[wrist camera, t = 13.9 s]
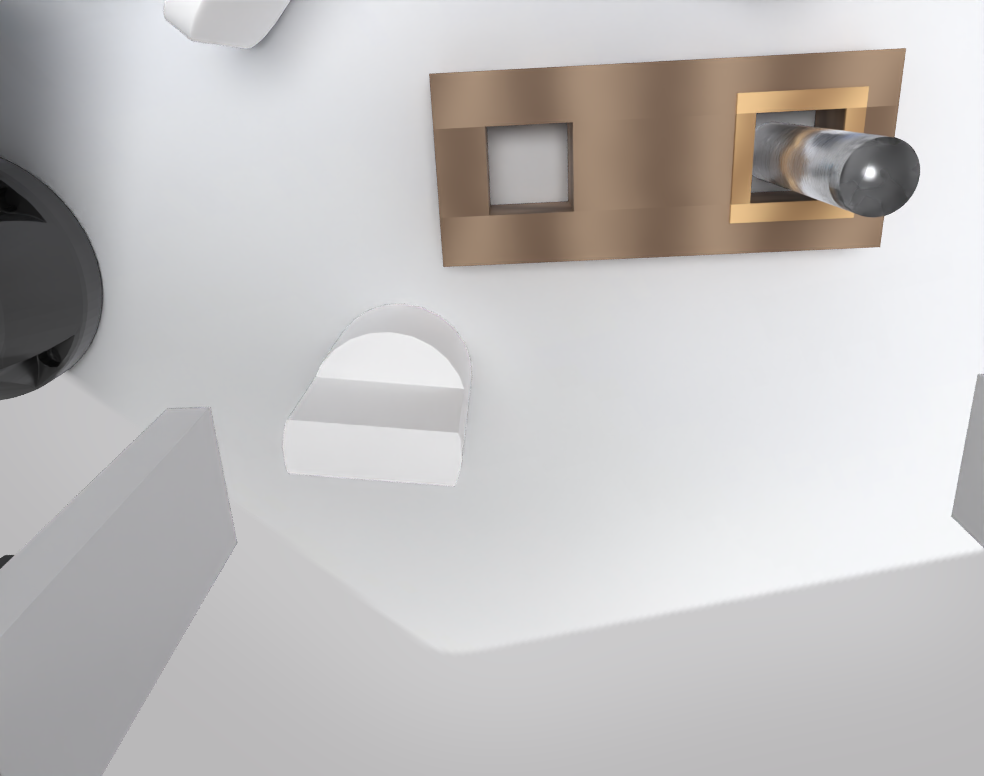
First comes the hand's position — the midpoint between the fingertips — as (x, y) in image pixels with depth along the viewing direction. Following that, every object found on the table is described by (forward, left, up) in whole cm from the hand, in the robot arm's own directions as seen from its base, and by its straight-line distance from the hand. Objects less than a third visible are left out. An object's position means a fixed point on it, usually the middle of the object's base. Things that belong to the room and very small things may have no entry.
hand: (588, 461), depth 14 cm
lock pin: (+14, +2, -35) cm, 37 cm away
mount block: (+7, +2, -35) cm, 35 cm away
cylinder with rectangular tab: (-8, -11, -35) cm, 37 cm away
